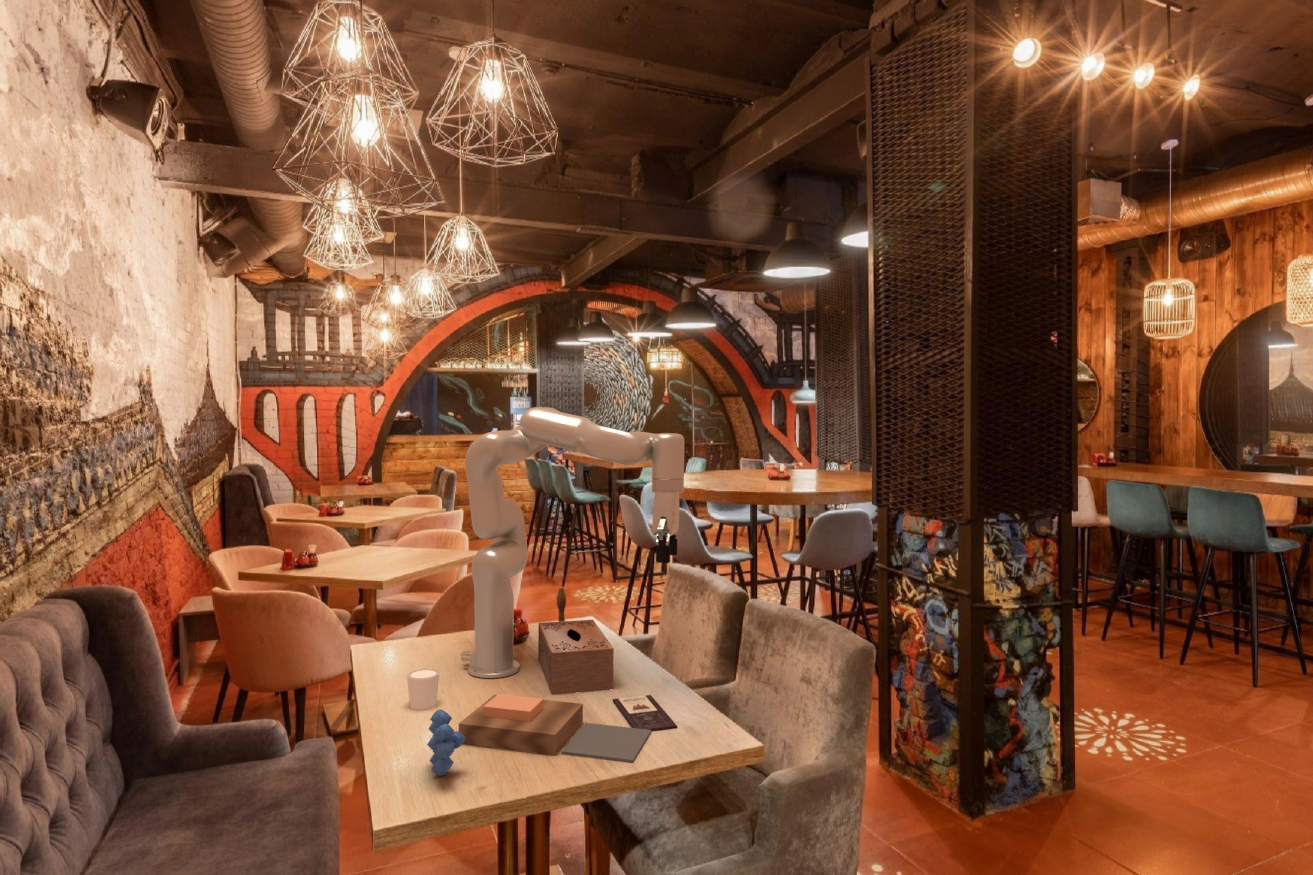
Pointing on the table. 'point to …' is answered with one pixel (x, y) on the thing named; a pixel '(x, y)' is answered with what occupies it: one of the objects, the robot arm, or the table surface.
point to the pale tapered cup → (423, 688)
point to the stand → (525, 729)
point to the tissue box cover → (575, 657)
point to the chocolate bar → (644, 713)
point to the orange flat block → (513, 707)
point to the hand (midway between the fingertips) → (666, 558)
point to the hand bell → (561, 604)
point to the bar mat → (607, 742)
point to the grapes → (443, 742)
